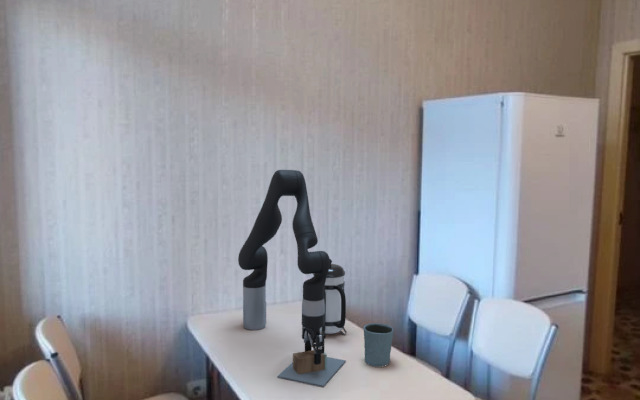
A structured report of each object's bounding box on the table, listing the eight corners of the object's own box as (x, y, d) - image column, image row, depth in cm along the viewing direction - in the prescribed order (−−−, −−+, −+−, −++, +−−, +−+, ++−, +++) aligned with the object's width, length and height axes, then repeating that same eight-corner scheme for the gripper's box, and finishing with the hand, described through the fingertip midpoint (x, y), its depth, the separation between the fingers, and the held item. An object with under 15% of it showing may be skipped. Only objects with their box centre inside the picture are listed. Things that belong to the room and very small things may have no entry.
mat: (303, 354, 177) (303, 352, 177) (345, 362, 171) (345, 360, 171) (277, 377, 159) (277, 375, 159) (323, 387, 153) (323, 385, 152)
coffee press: (302, 337, 193) (302, 261, 190) (317, 323, 208) (318, 253, 205) (344, 344, 186) (345, 266, 183) (357, 330, 201) (358, 257, 198)
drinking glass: (357, 358, 174) (358, 325, 173) (383, 353, 178) (383, 321, 177) (372, 369, 165) (372, 335, 164) (398, 365, 169) (399, 331, 168)
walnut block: (292, 353, 164) (320, 349, 168) (292, 367, 165) (320, 363, 168) (298, 359, 159) (326, 354, 163) (297, 374, 160) (326, 369, 164)
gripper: (332, 317, 158) (331, 366, 159) (315, 303, 171) (315, 349, 172) (310, 320, 155) (309, 369, 157) (295, 306, 168) (294, 352, 170)
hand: (312, 358), depth 164 cm, fingers open, 8 cm apart
